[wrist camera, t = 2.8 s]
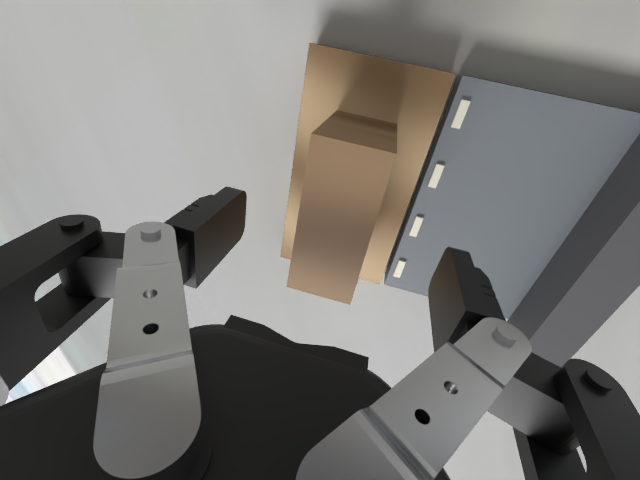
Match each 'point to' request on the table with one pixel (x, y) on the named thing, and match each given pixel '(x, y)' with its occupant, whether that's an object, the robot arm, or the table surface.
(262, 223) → the table surface
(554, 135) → the board
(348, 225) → the stub
